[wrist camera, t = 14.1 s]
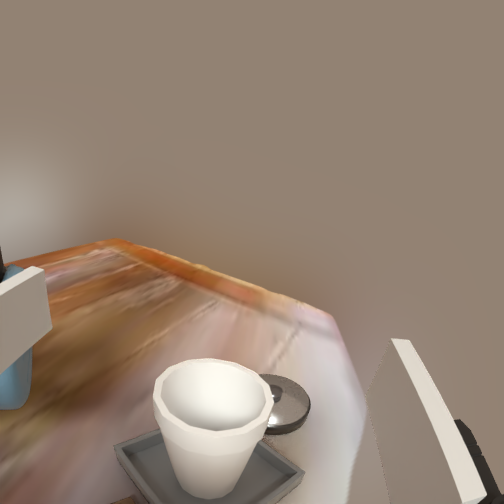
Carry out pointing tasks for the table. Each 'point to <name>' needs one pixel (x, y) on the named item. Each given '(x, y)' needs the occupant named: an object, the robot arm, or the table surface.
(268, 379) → the metal pot lid
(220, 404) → the foam cup
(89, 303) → the table surface
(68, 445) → the table surface
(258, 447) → the tray
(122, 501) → the square wooden frame
